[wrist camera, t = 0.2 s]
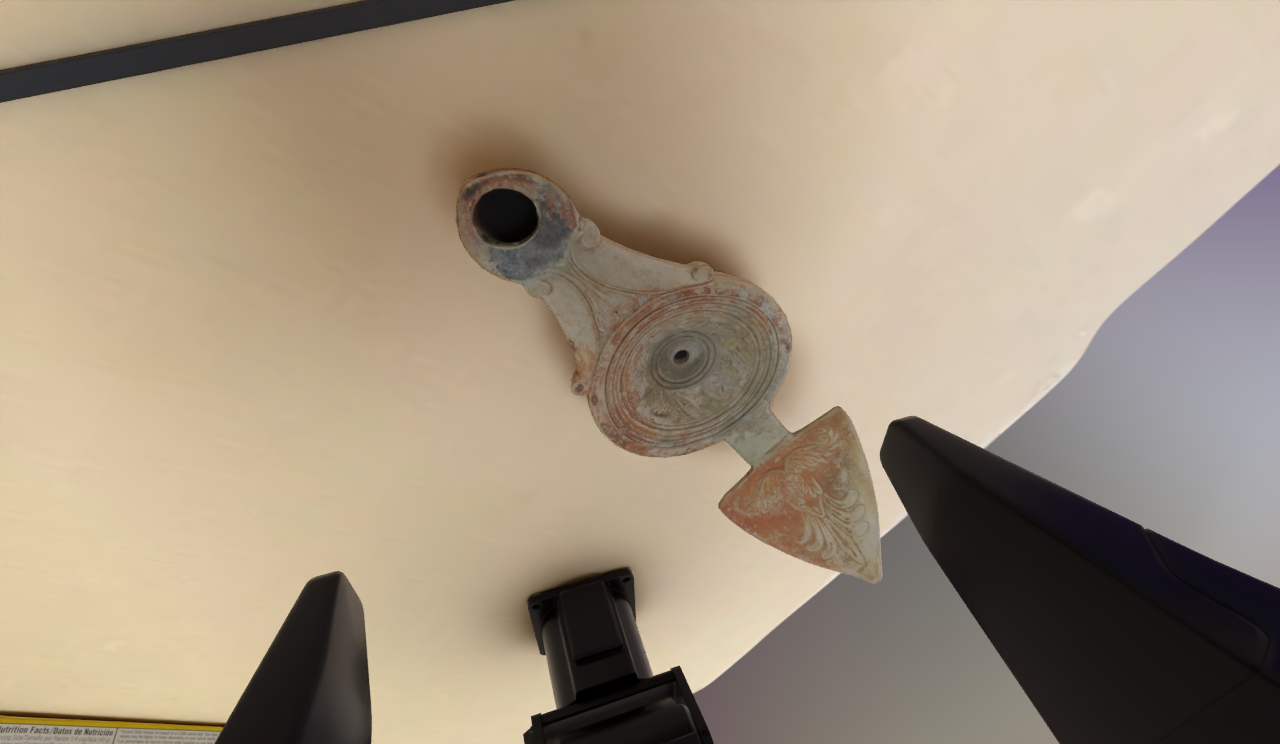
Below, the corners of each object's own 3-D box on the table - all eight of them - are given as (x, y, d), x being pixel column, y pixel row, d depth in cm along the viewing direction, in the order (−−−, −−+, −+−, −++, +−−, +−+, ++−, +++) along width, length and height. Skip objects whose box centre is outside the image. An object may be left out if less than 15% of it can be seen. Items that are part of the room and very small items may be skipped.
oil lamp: (711, 472, 34) (800, 637, 27) (375, 239, 20) (365, 444, 13) (835, 374, 32) (967, 522, 25) (554, 44, 18) (664, 154, 11)
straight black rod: (620, -49, 18) (626, -48, 17) (623, -25, 18) (629, -23, 17) (-415, 148, 14) (-442, 157, 13) (-382, 174, 14) (-407, 184, 14)
